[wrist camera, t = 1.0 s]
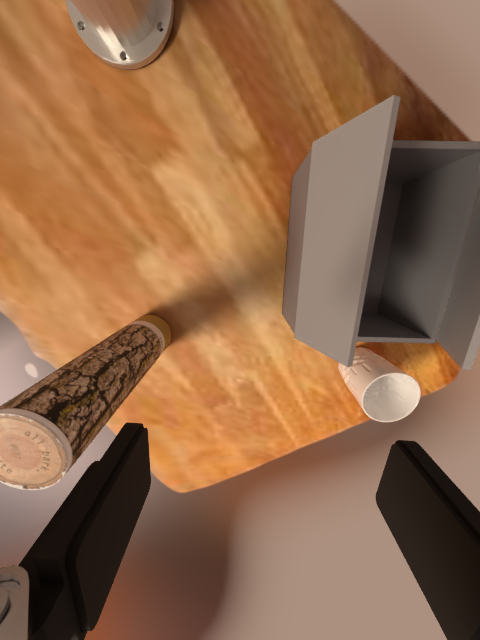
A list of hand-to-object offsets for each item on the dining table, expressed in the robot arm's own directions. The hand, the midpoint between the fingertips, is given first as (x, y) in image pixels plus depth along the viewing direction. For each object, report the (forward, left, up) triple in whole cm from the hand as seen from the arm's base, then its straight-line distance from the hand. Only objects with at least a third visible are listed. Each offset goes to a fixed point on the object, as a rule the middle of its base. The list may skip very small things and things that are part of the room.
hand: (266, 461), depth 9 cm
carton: (-8, +14, -31) cm, 34 cm away
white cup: (+11, +20, -31) cm, 38 cm away
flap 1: (-8, +7, -15) cm, 18 cm away
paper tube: (+6, -16, -31) cm, 35 cm away
